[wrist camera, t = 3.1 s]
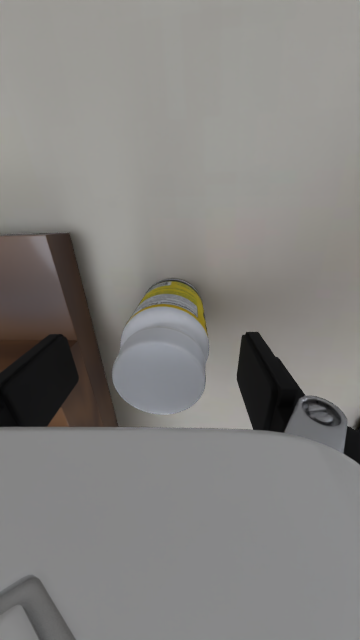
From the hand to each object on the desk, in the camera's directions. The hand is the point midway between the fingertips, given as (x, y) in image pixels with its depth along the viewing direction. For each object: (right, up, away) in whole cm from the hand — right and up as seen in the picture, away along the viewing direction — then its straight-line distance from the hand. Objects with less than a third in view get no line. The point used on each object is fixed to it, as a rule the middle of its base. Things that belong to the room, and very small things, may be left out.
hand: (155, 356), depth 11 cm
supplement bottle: (+1, +3, +5) cm, 6 cm away
